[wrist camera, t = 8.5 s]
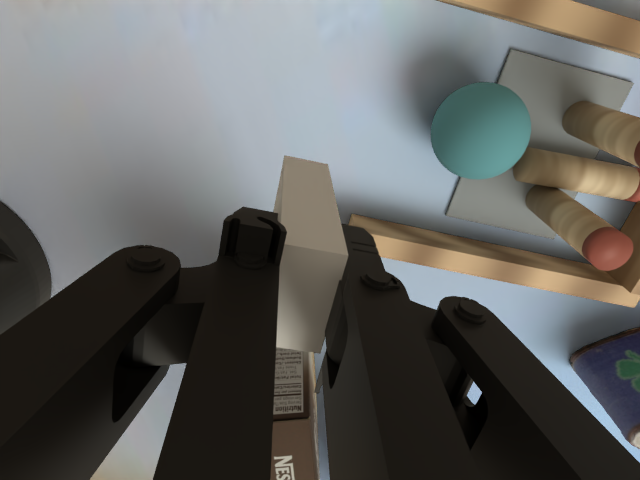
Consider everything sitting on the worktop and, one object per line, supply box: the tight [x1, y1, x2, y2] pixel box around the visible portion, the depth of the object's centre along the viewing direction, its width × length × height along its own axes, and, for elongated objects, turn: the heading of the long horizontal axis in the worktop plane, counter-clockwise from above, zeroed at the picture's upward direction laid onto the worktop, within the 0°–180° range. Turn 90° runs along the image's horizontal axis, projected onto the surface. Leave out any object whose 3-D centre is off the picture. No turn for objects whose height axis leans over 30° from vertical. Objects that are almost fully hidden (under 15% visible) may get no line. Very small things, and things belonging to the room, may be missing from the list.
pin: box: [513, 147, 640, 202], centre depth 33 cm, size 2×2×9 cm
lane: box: [348, 0, 640, 308], centre depth 32 cm, size 23×18×4 cm
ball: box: [431, 82, 531, 180], centre depth 30 cm, size 6×6×6 cm
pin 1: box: [562, 101, 640, 167], centre depth 28 cm, size 2×2×9 cm
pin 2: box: [525, 185, 633, 271], centre depth 31 cm, size 2×2×9 cm
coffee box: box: [270, 347, 320, 480], centre depth 31 cm, size 9×6×16 cm
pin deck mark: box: [446, 49, 634, 239], centre depth 33 cm, size 9×12×1 cm
